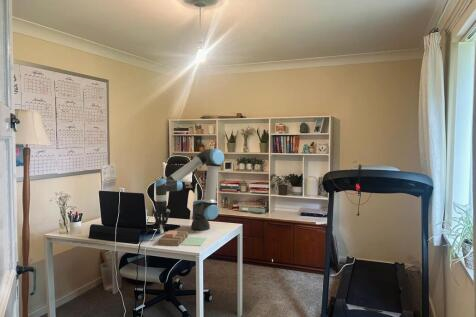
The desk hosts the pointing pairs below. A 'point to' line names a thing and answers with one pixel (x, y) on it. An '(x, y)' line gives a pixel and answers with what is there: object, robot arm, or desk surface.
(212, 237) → the desk surface
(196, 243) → the mat
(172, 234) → the card
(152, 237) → the desk surface
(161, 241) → the deck
